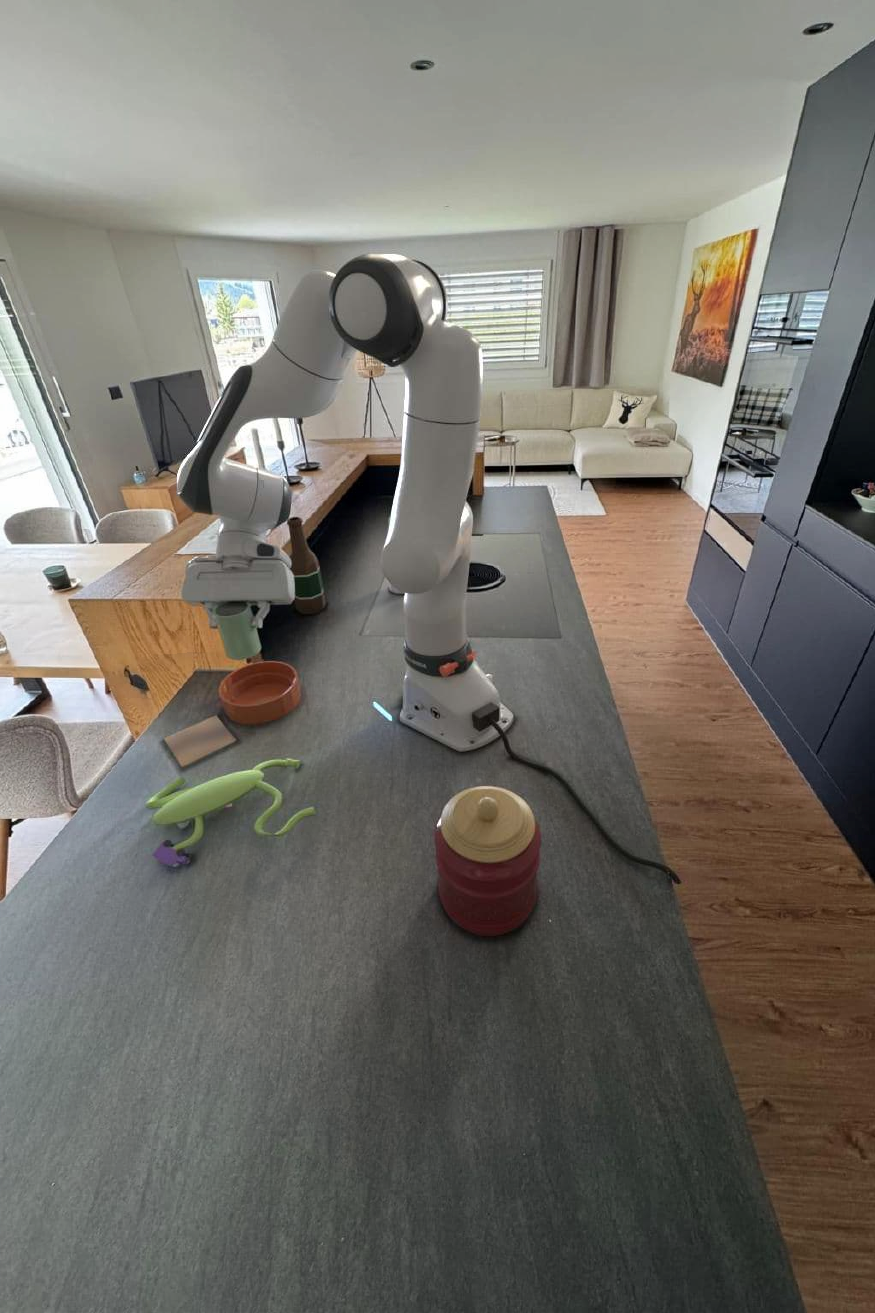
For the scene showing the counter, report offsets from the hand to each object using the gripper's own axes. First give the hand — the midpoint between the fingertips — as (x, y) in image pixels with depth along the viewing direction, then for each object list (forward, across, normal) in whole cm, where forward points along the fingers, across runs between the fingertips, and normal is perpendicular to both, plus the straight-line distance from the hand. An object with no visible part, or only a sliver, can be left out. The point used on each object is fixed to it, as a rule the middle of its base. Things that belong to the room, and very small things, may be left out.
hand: (235, 627), depth 100 cm
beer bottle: (-16, 0, +42) cm, 45 cm away
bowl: (+12, 0, +14) cm, 18 cm away
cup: (+3, 0, +4) cm, 5 cm away
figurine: (+32, +5, -6) cm, 33 cm away
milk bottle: (-24, +23, +50) cm, 60 cm away
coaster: (+20, -8, +6) cm, 22 cm away
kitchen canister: (+41, +44, -15) cm, 62 cm away
